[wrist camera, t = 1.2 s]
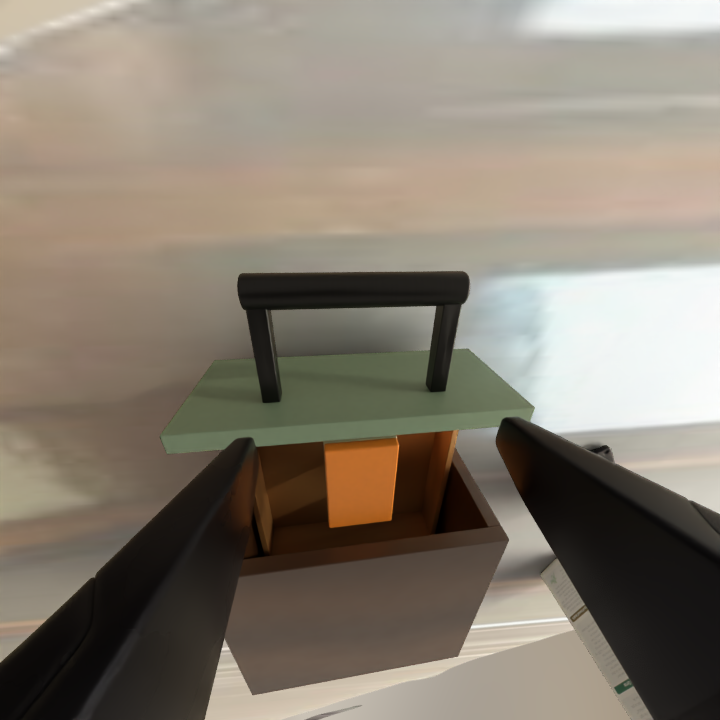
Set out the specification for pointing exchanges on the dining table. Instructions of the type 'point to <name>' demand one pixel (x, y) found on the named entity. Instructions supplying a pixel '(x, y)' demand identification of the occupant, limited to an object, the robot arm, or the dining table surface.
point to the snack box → (360, 479)
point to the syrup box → (594, 640)
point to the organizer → (365, 598)
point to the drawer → (344, 405)
